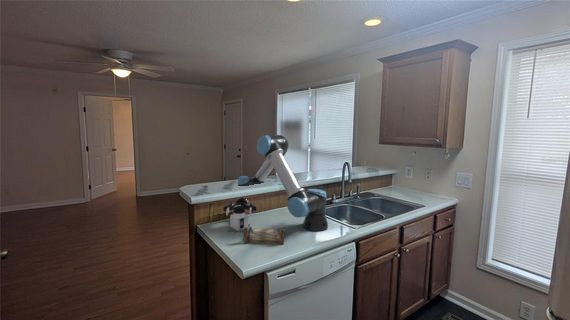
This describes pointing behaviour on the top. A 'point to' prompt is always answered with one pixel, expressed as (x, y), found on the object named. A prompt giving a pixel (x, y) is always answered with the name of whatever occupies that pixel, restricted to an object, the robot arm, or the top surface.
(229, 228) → the rubber mat
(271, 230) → the offcut stack
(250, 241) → the walnut rack
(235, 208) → the container
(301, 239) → the top surface
